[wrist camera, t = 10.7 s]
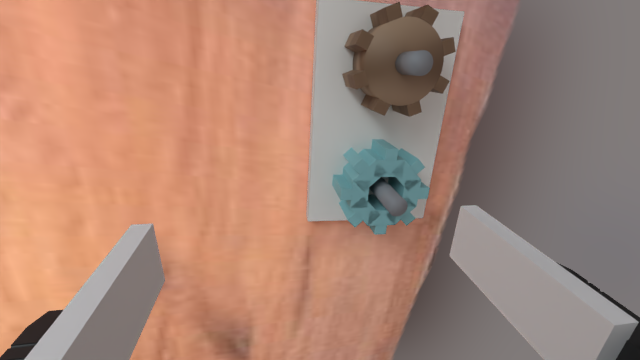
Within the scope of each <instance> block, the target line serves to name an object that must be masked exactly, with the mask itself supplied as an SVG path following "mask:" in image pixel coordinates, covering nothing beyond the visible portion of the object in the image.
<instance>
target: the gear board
mask: <svg viewBox="0 0 640 360" xmlns="http://www.w3.org/2000/svg"><path fill="white" fill-rule="evenodd" d="M390 5H393V4H386V3H376V2H366V1H357V0H316V18H315V39H314V61H313V83H312V104H311V126H310V147H309V169H308V191H307V212H306V216H307V219H308V221H336V220H347V218H346V216H345V214H344V212H343V210H342V208H341V206H340V205H339V202H341V201H342V200H340V199H339V197H338V195H337V193H336V191H335V189H334V187H333V186H332V181H333V175H342V174H343V167H344V166H345V165H346V164H347V163H348V161H347V159H346V158H345V157H344V156H343V154H345V153H346V152H347V151H348V150H349V149H350V148H351V147H352V148H353V149H354V150H355V151H356V152H357V153H359V152H361V151H362V150H363V149H371V147H372V139H383V140H385V141H387V142H388V143H390V144H391V145H393V146H394V147H396V148H397V149H399V150H400V149H401V148H402V149H404V150H405V151H407V152H409V153H410V154H412V155H413V156H415V157H417V158H418V159H419V160H420V161H421V162H422V164H423V165H424V166H425V168H424V169H423V170H421V171H420V172H419V173H418V174H417V175H418V176H419V178H420V179H421V182H422V183H424V184H425V185H426V186H428V187H429V186H430V181H431V176H432V171H433V166H434V161H435V156H436V151H437V146H438V141H439V136H440V131H441V126H442V121H443V116H444V111H445V106H446V101H447V96H448V91H449V86H450V82H449V83H448V85H447V87H446V89H445V90H444V92H443V94H441V93H435V92H429V93H428V94H427V95H426V96H425V97H424V98H422V99H421V100H420V105H421V110H422V112H421V113H418V114H416V115H413V116H411V117H409V116H406V115H403V114H400V113H398V112H395V111H393V109H392V105H390V107H389V109H388V111H387V112H386V114H385V116H383V115H381V114H379V113H377V112H374V111H372V110H370V109H368V108H366V107H364V106H362V105H361V103H362V101H363V99H364V97H365V95H366V94H365V93H364V92H363V91H362V90H361V89H360V88H359V89H353V88H350V87H346V86H345V82H344V79H343V76H342V74H343V73H346V72H348V71H351V70H353V56H354V52H353V51H351V50H349V49H347V48H346V47H344V46H345V44H346V42H347V39H348V37H349V35H350V34H351V33H354V32H356V31H359V30H362V29H363V30H365V31H367V32H368V31H369V30H370V29H372V28H373V26H372V22H371V18H370V14H372V13H374V12H377V11H379V10H381V9H383V8H385V7H387V6H390ZM400 6H401V11H402V16H403V17H405V15H406V13H407V12H410V11H412V10H415V9H418V8H420V7H415V6H405V5H400ZM433 9H434V8H433ZM435 10H436V11H438V12H439V14H438V16H437V18H436V20H435V22H434V23H433V25H432V27H433V28H434V29H435V30H436V32H437V33H438V35H439V37H440V39H444V38H451V37H454V43H455V50H456V51H457V46H458V41H459V36H460V31H461V27H462V22H463V17H464V12H463V11H454V10H444V9H435ZM455 56H456V52H454V53H451V54H449V55H446V56H444V62H443V68H442V72H441V74H440V75H441V76H442V77H444V78H446V79H447V80H449V81H451V76H452V71H453V66H454V61H455ZM432 66H433V57H432V55H431V53H430V52H428V51H426V50H420V51H409V52H403V53H401V54H400V55H399V56H398V57H397V59H396V62H395V67H396V70H397V71H398V72H399V73H400V74H402V75H414V76H423V75H426V74H427V73H428V72H429V71H430V70H431V68H432ZM399 150H398V151H399ZM371 194H374V195H375V196H376V197H377V198H378V200H379V201H380V202H381V203H382V204H383V206H384V207H385V208H386V209H387V211H388V212H389V213H390V214H391V215H392V216H401V215H402V214H404V213H405V212H406V210H407V207H408V204H407V202H406V200H405V199H404V198H402V197H401V196H400V195H399V194H398V193H397V192H396V191H395V190H394V189H393V188H392V187H391V186H390V185H389V184H388V177H380V178H379V179H378V180H377V181H376V182H375V183H374V184H372V185H371V186H370V187H369V194H368V195H371ZM426 200H427V199H418V201H417V206H416V207H415V208H414V209H413V210H412V211H411V212H410V213H411V214H412V215H413V216H414V217H415V218H423V215H424V210H425V205H426Z"/></svg>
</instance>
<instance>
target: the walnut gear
mask: <svg viewBox="0 0 640 360" xmlns="http://www.w3.org/2000/svg"><path fill="white" fill-rule="evenodd" d="M438 14H439V12H438V11H436V10H435V9H433V8H432V7H430V6H429V5H426V6H423V7H420V8H418V9H415V10H412V11H410V12H407V13H406V15H405V17H403V16H402V11H401V6H400V2H398V3H395V4H393V5H390V6H387V7H385V8H383V9H381V10H379V11H377V12H374V13H372V14H370V18H371V22H372V26H373V28H372V29H370V30H369V31H368V32H367V31H365V30H363V29H362V30H359V31H356V32H354V33H351V34H350V35H349V37H348V39H347V42H346V44H345V46H344V47H346V48H347V49H349V50H351V51H353V52H354V56H353V70H351V71H348V72H346V73H343V74H342V76H343V79H344V82H345V86H346V87H350V88H353V89H359V88H360V89H361V90H362V91H363V92H364V93H365V94H366V95H365V97H364V99H363V101H362V103H361V105H362V106H364V107H366V108H368V109H370V110H372V111H374V112H377V113H379V114H381V115H383V116H385V114H386V112H387V111H388V109H389V107H390V105H392V109H393V111H395V112H398V113H400V114H403V115H406V116H409V117H411V116H413V115H416V114H418V113H421V112H422V110H421V105H420V100H421V99H422V98H424V97H425V96H426V95H427V94H428V93H429V92H435V93H441V94H443V92H444V90H445V89H446V87H447V85H448V83H449V82H450V81H449V80H447V79H446V78H444V77H442V76H441V75H440V74H441V72H442V68H443V62H444V56H446V55H449V54H451V53H454V52H456V50H455V43H454V37H451V38H444V39H440V37H439V35H438V33H437V32H436V30H435V29H434V28H433V27H432V25H433V23H434V22H435V20H436V18H437V16H438ZM420 50H426V51H428V52H430V53H431V55H432V57H433V66H432V68H431V70H430V71H429V72H428V73H427V74H426V75H423V76H414V75H402V74H400V73H399V72H398V71H397V70H396V67H395V62H396V59H397V57H398V56H399V55H400V54H401V53H403V52H409V51H420Z"/></svg>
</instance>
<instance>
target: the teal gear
mask: <svg viewBox="0 0 640 360" xmlns="http://www.w3.org/2000/svg"><path fill="white" fill-rule="evenodd" d="M398 150H399V149H397V148H396V147H394V146H393V145H391V144H390V143H388V142H387V141H385V140H383V139H372V147H371V149H363V150H362V151H361V152H359V153H357V152H356V151H355V150H354V149H353V148H352V147H351V148H350V149H349V150H348V151H347V152H346V153H345V154H343V156H344V157H345V158H346V159H347V161H348V163H347V164H346V165H345V166H344V167H343V174H342V175H333V181H332V186H333V187H334V189H335V191H336V193H337V195H338V197H339V199H340V200H342V201H341V202H339V205H340V206H341V208H342V210H343V212H344V214H345V216H346V218H347V220H348V221H349V222H350V223H351V224H352V225H353V226H354V227H356V226H357V225H358V224H360V223H361V222H362V221H364V222H365V223H366V224H367V225H368V226H370V228H371V230H372V231H373V233H374V234H386V228H387V225H395V224H396V223H398V222H399V221H400V220H402V221H403V222H404V223H405V225H406V226H407V225H408V224H409V223H410V222H412V221H413V220H414V219H415V217H414V216H413V215H412V214H411V213H410V212H411V211H412V210H413V209H414V208H415V207H416V206H417V201H418V199H428V194H429V189H430V188H429V187H428V186H426V185H425V184H424V183H422V182H421V179H420V178H419V176H418V175H417V174H418V173H419V172H420V171H421V170H423V169H424V168H425V166H424V165H423V164H422V162H421V161H420V160H419V159H418V158H417V157H415V156H413V155H412V154H410V153H409V152H407V151H405V150H404V149H402V148H401V149H400V150H399V151H398ZM380 177H388V184H389V185H390V186H391V187H392V188H393V189H394V190H395V191H396V192H397V193H398V194H399V195H400V196H401V197H402V198H404V199H405V200H406V202H407V204H408V207H407V210H406V212H405V213H404V214H402V215H401V216H392V215H391V214H390V213H389V212H388V211H387V209H386V208H385V207H384V206H383V204H382V203H381V202H380V201H379V200H378V198H377V197H376V196H375V195H374V194H371V195H368V194H369V187H370V186H371V185H372V184H374V183H375V182H376V181H377V180H378V179H379V178H380Z"/></svg>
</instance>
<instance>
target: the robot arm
mask: <svg viewBox="0 0 640 360" xmlns="http://www.w3.org/2000/svg"><path fill="white" fill-rule="evenodd" d="M449 256H450V257H451V258H452V259H453V260H454V261H455V263H456V264H457V265H458V266H459V267H460V268H461V269H462V270H463V271H464V272H465V273H466V275H467V276H468V277H469V278H470V279H471V280H472V281H473V282H474V283H475V284H476V286H477V287H478V288H479V289H480V290H481V291H482V292H483V293H484V294H485V295H486V297H487V298H488V299H489V300H490V301H491V302H492V303H493V304H494V305H495V306H496V307H497V308H498V310H499V311H500V312H501V313H502V314H503V315H504V316H505V317H506V319H507V320H508V321H509V322H510V323H511V324H512V325H513V326H514V327H515V328H516V329H517V331H518V332H519V333H520V334H521V335H522V336H523V337H524V338H525V339H526V340H527V341H528V343H529V344H530V345H531V346H532V347H533V348H534V349H535V350H536V351H537V352H538V354H539V355H540V356H541V357H542V358H543V359H544V360H640V317H638V316H637V315H635V314H634V313H632V312H631V311H630V310H628V309H627V308H625V307H624V306H623V305H621V304H619V303H618V302H617V301H615V300H614V299H613V298H611V297H610V296H608V295H607V294H605V293H604V292H601V291H600V289H598V288H597V287H596V286H594V285H593V284H591V283H588V281H587V280H586V279H584V278H583V277H581V276H580V275H578V274H577V273H575V272H574V271H573V270H571V269H569V268H567V267H564V266H563V265H561V264H558V263H556V262H555V261H553V260H552V259H550V258H549V257H548V256H546V255H545V254H543V253H542V252H541V251H539V250H538V249H536V248H535V247H534V246H532V245H531V244H529V243H528V242H527V241H525V240H524V239H522V238H521V237H520V236H518V235H517V234H515V233H514V232H513V231H511V230H510V229H508V228H507V227H506V226H504V225H503V224H502V223H500V222H499V221H497V220H496V219H495V218H493V217H492V216H490V215H489V214H488V213H486V212H485V211H483V210H482V209H481V208H479V207H478V206H476V205H472V206H461V208H460V212H459V217H458V221H457V225H456V230H455V234H454V238H453V243H452V247H451V251H450V255H449ZM164 281H165V278H164V273H163V268H162V264H161V259H160V254H159V250H158V245H157V240H156V236H155V231H154V226H153V224H137V225H131V226H130V227H129V228H128V230H127V231H126V232H125V233H124V235H123V236H122V237H121V239H120V240H119V241H118V242H117V244H116V245H115V246H114V247H113V249H112V250H111V251H110V252H109V254H108V255H107V256H106V257H105V259H104V260H103V261H102V262H101V264H100V265H99V266H98V267H97V269H96V270H95V271H94V272H93V274H92V275H91V276H90V277H89V279H88V280H87V281H86V282H85V284H84V285H83V286H82V288H81V289H80V290H79V291H78V293H77V294H76V295H75V296H74V298H73V299H72V300H71V301H70V303H69V304H68V305H67V306H66V308H65V309H64V310H56V311H48V312H47V313H45V314H44V315H43V316H41V317H40V318H39V319H37V320H36V321H35V322H33V323H32V324H31V325H29V326H28V327H27V328H26V329H25V330H24V331H23V332H22V333H21V335H20V336H19V337H18V338H17V339H16V340H15V341H14V343H13V344H12V345H11V348H10V349H7V350H6V352H5V353H4V354H3V355H2V356H1V357H0V360H129V359H130V357H131V355H132V352H133V350H134V348H135V346H136V344H137V341H138V339H139V337H140V335H141V332H142V330H143V328H144V326H145V324H146V321H147V319H148V317H149V315H150V312H151V310H152V308H153V306H154V304H155V301H156V299H157V297H158V295H159V293H160V290H161V288H162V286H163V284H164Z"/></svg>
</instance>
